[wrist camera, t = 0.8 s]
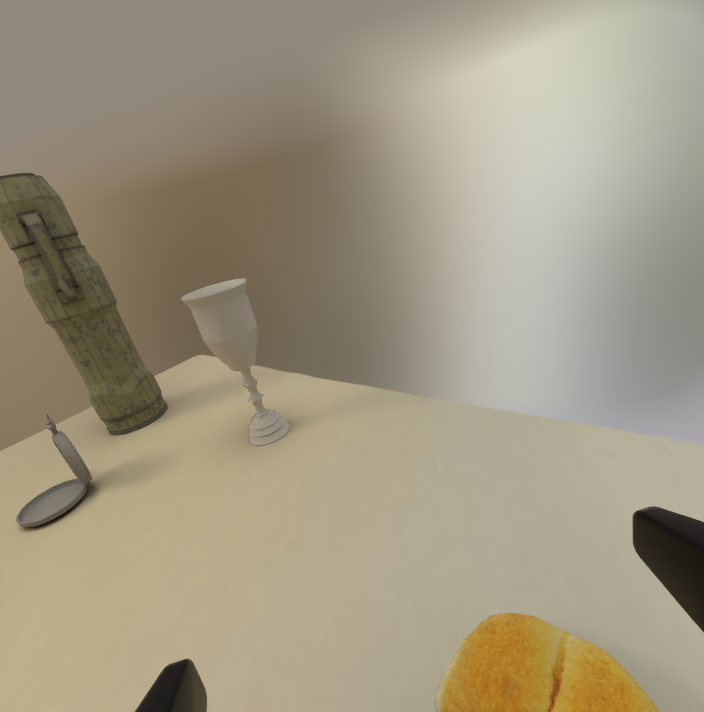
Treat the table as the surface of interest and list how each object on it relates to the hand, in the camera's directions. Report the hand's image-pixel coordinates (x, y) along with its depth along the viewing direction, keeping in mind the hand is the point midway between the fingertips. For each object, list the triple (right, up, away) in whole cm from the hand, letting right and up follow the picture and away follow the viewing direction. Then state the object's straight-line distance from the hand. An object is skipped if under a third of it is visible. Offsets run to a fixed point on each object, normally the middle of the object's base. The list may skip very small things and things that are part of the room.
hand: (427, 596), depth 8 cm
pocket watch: (-33, -12, +37) cm, 51 cm away
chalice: (-11, -5, +40) cm, 42 cm away
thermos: (-35, -5, +53) cm, 64 cm away
